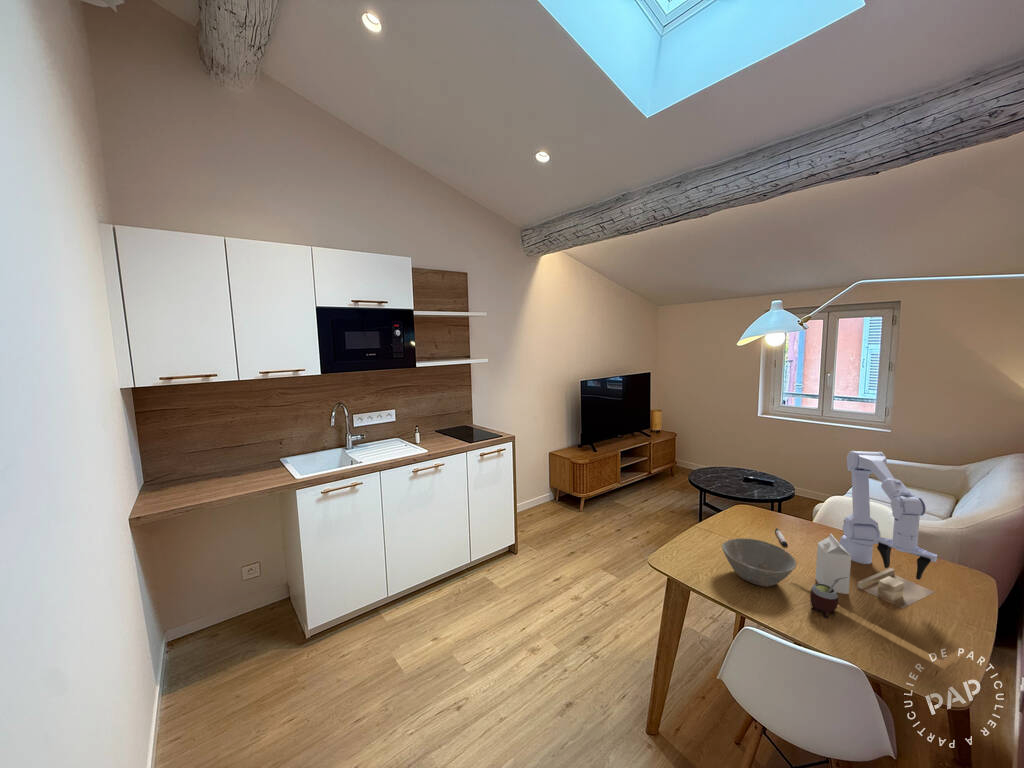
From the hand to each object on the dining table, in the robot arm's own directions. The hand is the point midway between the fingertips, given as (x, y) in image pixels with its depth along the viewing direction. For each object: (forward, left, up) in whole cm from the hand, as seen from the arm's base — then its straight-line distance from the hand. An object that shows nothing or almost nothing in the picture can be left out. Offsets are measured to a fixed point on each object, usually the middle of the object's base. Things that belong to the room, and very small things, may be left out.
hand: (902, 572), depth 130 cm
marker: (-44, +7, -11) cm, 46 cm away
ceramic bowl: (-28, -30, -11) cm, 42 cm away
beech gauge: (-2, -1, -9) cm, 9 cm away
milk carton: (-13, -13, -11) cm, 21 cm away
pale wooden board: (-3, +4, -10) cm, 11 cm away
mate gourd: (-7, -27, -11) cm, 30 cm away
